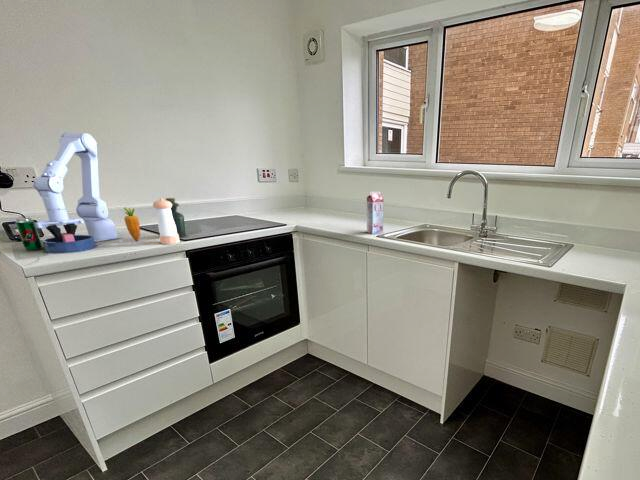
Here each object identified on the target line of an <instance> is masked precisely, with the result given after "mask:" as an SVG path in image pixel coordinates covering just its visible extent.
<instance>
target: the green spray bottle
mask: <svg viewBox="0 0 640 480" xmlns="http://www.w3.org/2000/svg"><path fill="white" fill-rule="evenodd" d="M165 200H166V201H169V202H171V203H172V208H171V212H172V217H173V220H174V222H175V225H176V229H177V234H178V235H179V239H182V238H185V237H186V236H187V234H186V225H185V224H186V223H185V216H184V215H183V214H182V213H180V212H178V211H177V209H178V207H179V206H180V204H179V202H176V198H175V197H166V198H165Z"/></svg>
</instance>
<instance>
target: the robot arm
mask: <svg viewBox="0 0 640 480" xmlns="http://www.w3.org/2000/svg"><path fill="white" fill-rule="evenodd" d="M58 141H59V144H60V145H59V147H58V150H57V152H56V155H55V158H54V160H49V161H47V162H46V163H45V164H46V166H45V168H44V169H43V171H42V173H41V174H40V176H38V177H36V178H35V179H34V180H33V184H32V187H33V189H35V190H36V191H37V192H38V195H39V196H40V197H41V199H42V202H43V205H44V209H45V211H46V213H47V217H48V220H43V221H37V222H34V223H35V226H36V229H42V228H45V229H46V230H47V231H48V232H49V233H50V234H51V235H52V236H53V237H55V238H56V240H57V241H58V242H63V239H62V236H61V233H62V230H61V227H63V229H64V230H65V233H68V234H73V236H74V238H75V235H76V232H77V229H78V225H79V224H85V228H86V232H87V235H89V236H93V238H94V241H95V243H97V242H104V241H109V240H110V241H111V240H115V239H116V240H117V239H119V236H118V233H117V231H116V230H117V229H116V226H115V223H114V222H113V220H112V219H111V218H108V217H109V210H108V207H107V202H106V201H104V200H103V199H101V198H100V181H99V180H100V177H99V160H98V143H97V141H96V139H95V138H94V137H93V136H92V135H91V134H90V133H88V132H87V133H86V132H84V133H81V132H78V133H77V132H62V133H61V135H60V137H59V138H58ZM74 155H75V156H77V157H79V159H80V160H81V161H80V162H81V163H80V164H81V184H82V185H81V186H82V196H81V197H80V198H79V199H78V200H77V205H76V207H75V208H76V209H75V212H76V214H77V216H78V218H77V217H76V218H70V217H69V214H68V212H67V209H66V205H65V202H64V198H63V195H62V192H63V191H64V179H65V177H66V174H67V173H68V171H69V169H68V167H67V165H68V163H69V161H70V160H71V159H72V157H73V156H74ZM60 226H61V227H60Z"/></svg>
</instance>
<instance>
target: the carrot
mask: <svg viewBox="0 0 640 480" xmlns="http://www.w3.org/2000/svg"><path fill="white" fill-rule="evenodd" d="M123 209H124V210H125V211H124V213H125V214H126V215H125V216H124V222H125V227H126V229H127V231H128V233H129V235H130V236H131V238H132V239H133V240H134V241H135V242H138V241H139V239H140V237H141V225H140V221H139V217H138V216H136V215H134V213H135V210H136V208H128V207H126V206H124V207H123Z"/></svg>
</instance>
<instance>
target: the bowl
mask: <svg viewBox="0 0 640 480" xmlns="http://www.w3.org/2000/svg"><path fill="white" fill-rule="evenodd" d="M74 239H75V241H73V242H58V241H57V240H56V238H55V237H54V236H53V237H48V238H45V239H43V240H42V241H41V243H42V246H43V249H44V250H45V252H46V253H50V254H66V253H77V252H84V251H87V250H92V249H95V248H96V247H97V245H96V242H95V241H94V238H93V236H89V235H88V234H75V238H74Z"/></svg>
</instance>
